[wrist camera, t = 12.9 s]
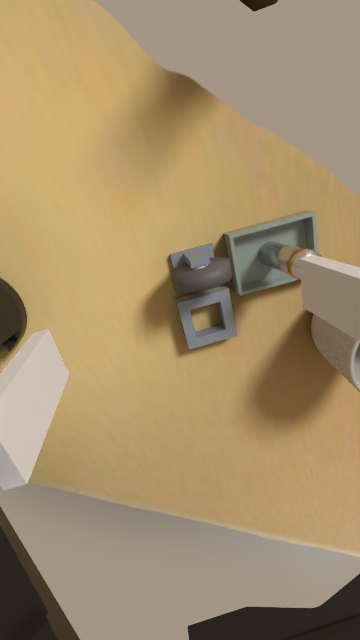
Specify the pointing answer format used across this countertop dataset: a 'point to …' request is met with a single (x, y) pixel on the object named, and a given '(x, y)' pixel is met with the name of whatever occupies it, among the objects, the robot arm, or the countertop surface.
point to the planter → (337, 349)
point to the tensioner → (203, 292)
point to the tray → (248, 242)
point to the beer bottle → (258, 3)
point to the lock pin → (284, 257)
